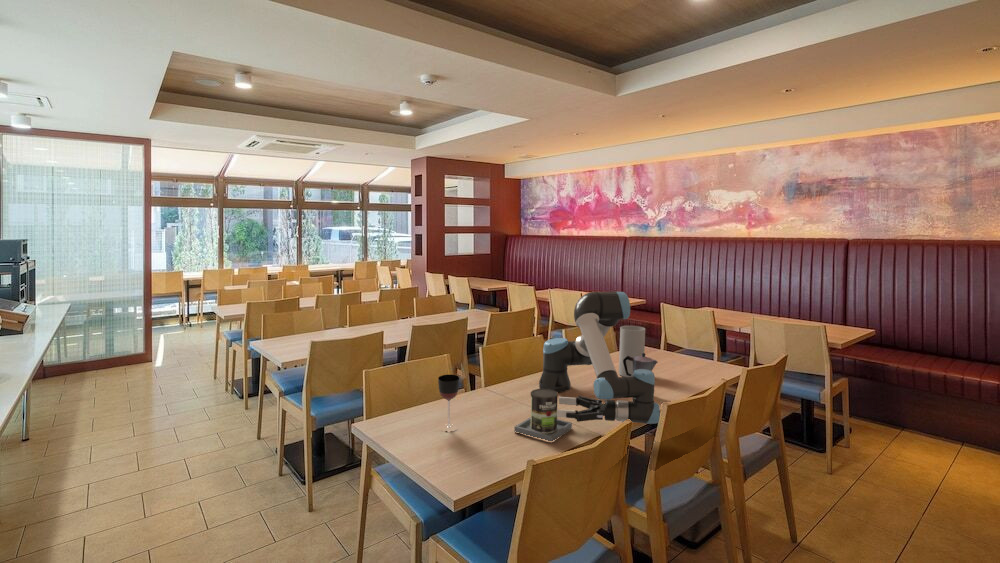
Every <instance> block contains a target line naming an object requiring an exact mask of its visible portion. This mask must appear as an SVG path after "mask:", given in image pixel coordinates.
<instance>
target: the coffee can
mask: <svg viewBox="0 0 1000 563" xmlns="http://www.w3.org/2000/svg"><path fill="white" fill-rule="evenodd" d="M558 396H559V392H556V391H554V390H550V389H541V388H536V389H533V390H531V391H530V417H531V423H530V429H531V430H533V431H537V432H540V433H544V434H550V433H553V432H555V431H556V430H557V419H558V417H557V409H558V398H559V397H558Z"/></svg>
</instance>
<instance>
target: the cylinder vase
mask: <svg viewBox="0 0 1000 563" xmlns="http://www.w3.org/2000/svg"><path fill="white" fill-rule="evenodd" d="M619 328H620V329H619V334H620V335H619V356H618V374H619V375H620V377H630V376H628V375H626V372H625V367H624V364H623V360H624V359H625V358H626V357H627V356H630V357H636V356H642V353H645V347H646V346H645V344H646V343H645V342H646V328H645V327H643V326H639V325H638V326H637V325H622V326H620V327H619ZM626 365H627V370H628V373H629V374H632V375H631V376H633V361H630V360H626Z"/></svg>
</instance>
